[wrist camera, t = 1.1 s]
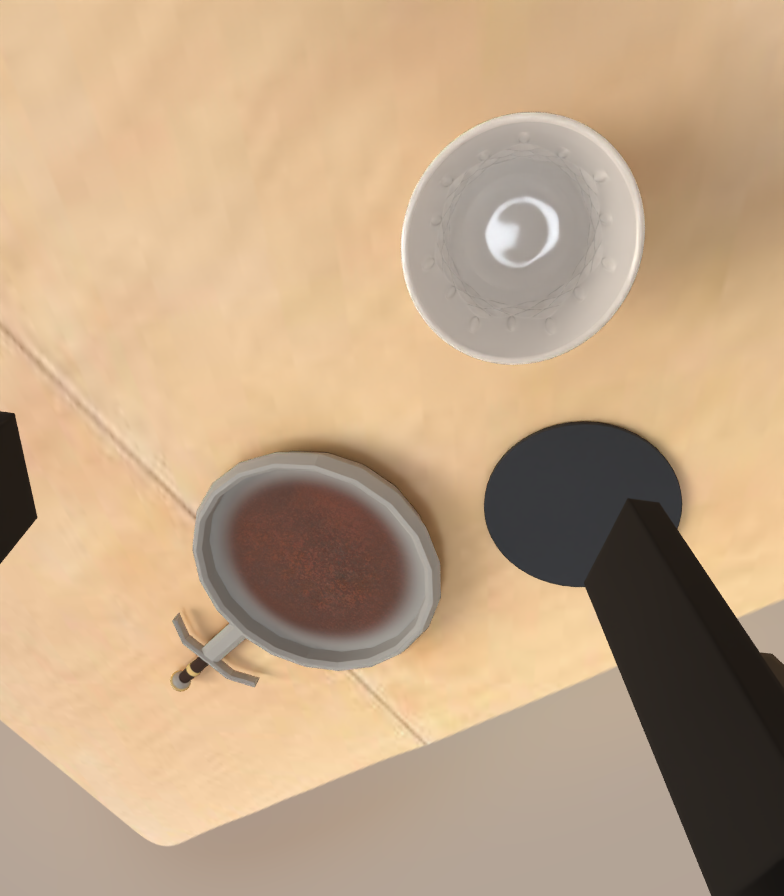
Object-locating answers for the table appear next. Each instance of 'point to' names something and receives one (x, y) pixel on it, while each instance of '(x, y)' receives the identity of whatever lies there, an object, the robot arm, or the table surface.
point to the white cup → (522, 238)
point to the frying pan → (310, 565)
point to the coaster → (572, 496)
